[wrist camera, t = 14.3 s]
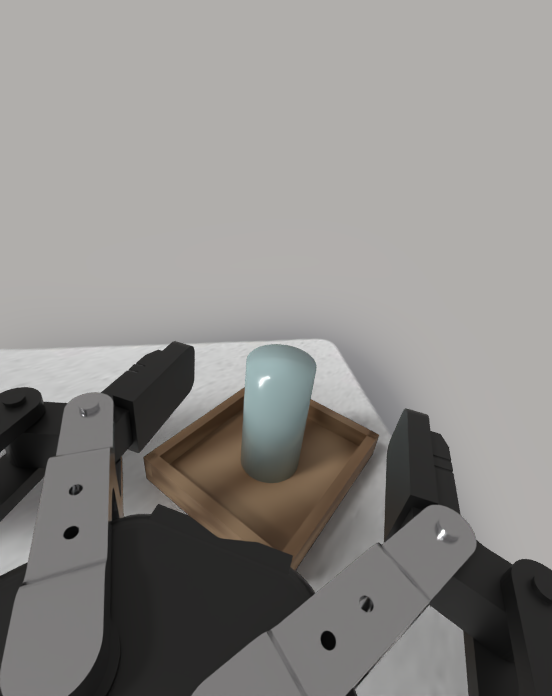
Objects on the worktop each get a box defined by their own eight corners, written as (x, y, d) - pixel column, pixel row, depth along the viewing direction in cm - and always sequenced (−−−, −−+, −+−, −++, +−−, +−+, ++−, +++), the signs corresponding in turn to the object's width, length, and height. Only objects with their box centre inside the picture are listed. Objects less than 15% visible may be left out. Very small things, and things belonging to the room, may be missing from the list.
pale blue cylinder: (234, 477, 34) (239, 377, 27) (246, 433, 39) (253, 340, 33) (296, 487, 33) (315, 388, 27) (299, 441, 38) (317, 349, 32)
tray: (146, 478, 34) (143, 457, 32) (261, 392, 47) (263, 374, 45) (279, 594, 26) (283, 574, 25) (372, 454, 39) (379, 434, 38)
